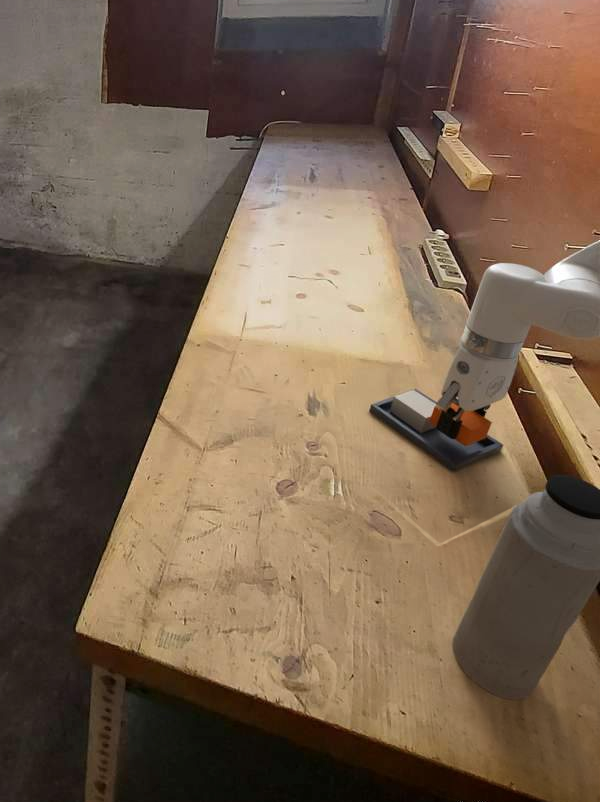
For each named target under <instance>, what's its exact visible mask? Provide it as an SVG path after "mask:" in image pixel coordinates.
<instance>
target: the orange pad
mask: <svg viewBox="0 0 600 802" xmlns="http://www.w3.org/2000/svg"><path fill="white" fill-rule="evenodd" d="M450 407H451V408H453V409H454V410H455V411H456V412H457V410H458V408H459V406H457V405H456V404H454V403H452V404H451V406H450ZM440 415H441V411H440V409H439V408H438V407H437V406H435V407H434V410H433V412H432V415H431V418H430V421H429V422H430V423H431V424H433V425H434V426H437V423H438V420H439V417H440ZM460 420H462V424H461V427H460V429H459V432H458V434H457V437H456V438H455V440H456V441H458V442H459V443H461V444H462V445H464V446H468V445H470V444H473V443H475V442H477V441H480V440H482V439H485V438H486V436H487V435H488V433H489V430H490V428H491V427H492V423H493V422H492V421H491V420H489V419H488V418H486V417H483V416H481V415H480V414H478V413H476V412H475V411H465V412H464V414H463V415H462V417H461V419H460Z"/></svg>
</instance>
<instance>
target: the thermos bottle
mask: <svg viewBox="0 0 600 802" xmlns="http://www.w3.org/2000/svg"><path fill="white" fill-rule="evenodd" d="M544 486H545V487H544V488H545V489H544V490H543V491H536V492H534V493H532V494H530V495H529V496H528V497H527V499H526V500H524V501H523V502H521V503H518V504H516V505H515V506H514V507H513V508H512V509H511V512H510V514H509V516H508V519H507V520H506V523H505V525H504V527H503V529H502V531H501V533H500V536H499V537H498V540H497V542H496V544H495V547H494V548H493V551H492V553H491V556H490V557H489V559H488V561H487V563H486V565H485V568H484V570H483V572H482V574H481V576H480V579H479V581H478V584H477V585H476V589H475V591H474V594H473V595H472V597H471V599H470V601H469V603H468V605H467V608H466V609H465V611H464V614H463V615H462V618H461V620H460V622H459V624H458V626H457V629H456V631H455V633H454V635H453V637H452V642H451V643H452V644H451V645H452V651H453V654H454V656H455V659H456V661H457V663H458V664H459V666H460V667H461V669H462V670H463V672H465V674H466V675H467V676H468V677H469V678H470V679H471V680H472V681H474V683H476V684H477V685H478V686H480V687H481V688H483V689H484V690H486V691H487V692H489V693H491V694H493V695H495V696H498V697H500V698H503V699H508V700H516V701H517V700H522V699H526V698H528V697H530V695H531V694H532V693H533V692H534V690H535V689H536V687H537V685H538V684H539V682H540V681H541V679H542V677H543V675H544V673H545V672H546V671H547V669H548V668H549V665H550V664H551V663H552V660H553V659H554V657H555V656H556V654H557V652H558V651H559V649H560V647H561V645H562V642H563V640H564V637H565V636H566V634H567V632H568V631H569V630H570V628H571V627H572V626H573V625H574V624H575V622H576V621H577V619H578V617H579V616H580V614H581V613H582V612H583V610H584V608H585V606H586V604H587V603H588V601H589V599H590V597H591V596H592V594H594V591H595V590H596V588H597V586H598V585H599V583H600V488H599V487H597V486H595V485H594V484H591V483H590V482H588V481H586V480H585V479H584V480H583V479H581V478H578V477H575V476H571V475H565V474H555V475H552V476H550V477H549V478H548V479H547V480H546V483H545V485H544Z"/></svg>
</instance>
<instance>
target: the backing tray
mask: <svg viewBox="0 0 600 802" xmlns="http://www.w3.org/2000/svg"><path fill="white" fill-rule="evenodd" d="M411 390H415V391H416V392H418V393H419V394H421V395H422V396H424V397H426V398H427V399H429V400H430V401H432V402H433V403H435V404H436V403H437V402H438V401H436V400H434V399H433V398H431V397H429V396H428V395H426V394H425V393H424V392H422V391H420V390H418V389H416V388H414V389H411ZM411 390H408V391H411ZM408 391H404V392H402V393H400V394H403V393H406V392H408ZM400 394H399V393H398V394H396V395H393V396H390V397H388V398H385V399H383V400H379V401H377V402H374V403H371V404H370V407H369V413H371V414H373V415H374V416H375V417H376V418H378V419H380V421H382V422H384V423H385V424H386V425H388V427H390V428H392V429H393V430H394V431H396V432H397V433H398V434H400V435H401V436H403V437H404V438H406V439H407V440H408V441H410V442H411V443H413V444H414V445H415V446H417V447H418V448H419V449H421V450H422V451H424V452H425V453H426V454H428V455H429V456H430V457H432V459H433V458H434V460H436V461H437V462H439V463H440V464H441V465H443V466H444V467H445V468H447V469H448V470H450V472H453V473H456V472H458V471H459V470H462V469H465V468H466V467H469V466H471V465H473V464H476V463H478V462H480V461H482V460H485V459H487V458H490V457H492V456H494V455H496V454H499V453H500V452H502V450H503V447H504V444H503V443H502V442H500V441H498V439H496V438H494V437H492V436H491V435H489V434H487V436H486V438H485V439H482V440H480V441H477V442H475V443H473V444H470V445H468V446H464V445H462V444H461V443H459V442H458V441H456V440H455V439H451V438H449V437H448V436H446V435H445V434H443V433H442V432H440V431H439V430H437V428H436V427H435V428H433V429H430V430H428V431H425V432H423V433H420V432H419V431H417V430H416V429H414V428H413V427H412V426H410V425H409V424H407V423H406V422H404V421H403V420H402V419H400V418H399V417H397V416H396V415H394V414H393V413H392V412H390V409H391V405H392V402H393V399H394V396H397V395H400Z"/></svg>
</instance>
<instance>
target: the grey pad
mask: <svg viewBox="0 0 600 802" xmlns="http://www.w3.org/2000/svg"><path fill="white" fill-rule="evenodd" d="M405 392H406V393H405ZM405 392H402V393H403V394H402V393H400V395H399V394H396V395H397V396H396V395H393V396H394V399H393V402H392V405H391V409H390V412H392V413H393V414H394V415H396V416H397V417H399V418H400V419H402V420H403V421H404V422H406V423H407V424H409V425H410V426H412V427H413V428H414V429H416V430H417V431H419V432H420V433H423V432H425V431H428V430H430V429H433V428H435V427H436V426H434V425H433V424H431V423H430V422H429V421H430V418H431V415H432V412H433V410H434V407H435V406H436V404H435V403H433V402H432V401H430V400H429V399H427V398H426V397H424V396H422V395H421V394H419V393H418V392H416V391H415V390H413V389H411V391H410V390H408V392H407V391H405Z"/></svg>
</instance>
